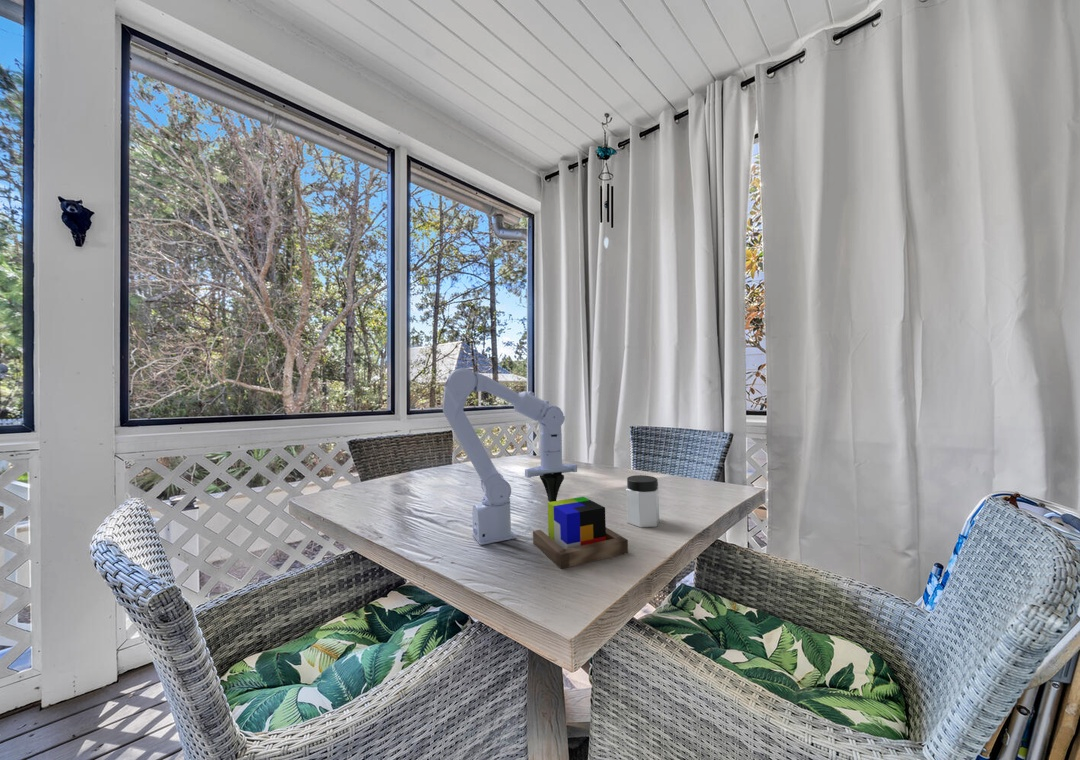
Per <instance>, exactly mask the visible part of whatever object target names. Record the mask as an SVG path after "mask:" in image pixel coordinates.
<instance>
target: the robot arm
mask: <svg viewBox="0 0 1080 760" xmlns="http://www.w3.org/2000/svg"><path fill="white" fill-rule="evenodd" d="M443 391H444V392H443V400H442V401H443V402H442V413H443V414H444V416H445V418H446V420H447V421H448V424H449V425H450V427H451V429H452V430H453V432H454V434H455V435H456V436H455V437H456V438H457V439H458V441H459V443H460V444H461V446H462V448H463V451H464V452H465V453H466V455H467V457H468V459H469V460H470V462H471V464H472V466H473V467H474V470H475V472H476V473H477V475H478V477H479V479H480V486H481V490H482V492H483V493H485V494H484V495H483V496H482V499H481V502H479V503H476V504H474V505H473V506H472V511H471V512H472V533H471V534H472V536H473V538H475V540H476V541H477V543H478V544H479V545H480V546H481V545H482V546H484V545H488V544H492V543H498V542H504V541H507V540H508V541H509V540H514V539H517V537H518V536H517V535H516V534H515V533H514V532H513V531H512V525H511V524H512V523H511V521H512V520H511V518H512V517H511V515H512V514H511V498H510V497H511V495H512V487H511V484H510V483H509V482H508V481H507V480H506V479H505V478H504V476H503V475H502V474H501V473H500V472H499V471H498V470H497V468H496V466H495V465H494V463H493V461H492V459H491V458H490V456H489V454H488V452H487V451H486V448H485V447H484V445H483V443H482V442H481V440H480V438H479V436H478V434H477V433H476V431H475V428H474V427H473V426H472V423H471V422H470V420H469V418H468V416H467V414H466V412H465V411H464V408H465V405H466V403H467V400H468V397H469V396H470V395H471V393H472V392H479V393H480V392H486V393H487V394H488V393H489V394H490V395H493V396H495V397H497V398H500V399H501V400H504V401H506V402H507V403H510V404H512V406H513V410H514V411H515V412H517V413H519V414H521V415H523V416H524V417H527V418H528V419H531V420H533V421H536V422H538V423H539V425H540V433H539V437H540V438H539V443H540V445H539V447H540V449H539V450H540V452H539V453H540V466H539V465H538V466H535V467H531V468H530V467H529V468H525V469H524V476H525V477H526V478H529V479H530V478H532V477H533V478H534V477H538V476H539V479H540V480H541V482H542V484H543V486H544V490H545V493H546V496H547V501H548V502H553V501H557V498H558V494H559V491H560V488H561V485H562V483H563V481H564V480H565V475H564V473H565V474H566V473H578V464H575V463H565V464H563V443H562V442H563V440H562V439H563V437H562V436H563V435H562V426H563V424H564V422H565V420H566V416H565V415H564V412H563V410H562V409H561V408H560V407H558V406H555V405H551V404H550V401H549V400H547V399H545V400H543V399H541V398H539V397H537V396H536V395H535V392H533V391H531V390H530V391H529V390H528V392H527V391H526V390H525V391H521V392H517V391H515V390H513V389H511V388H509V387H507V386H506V385H504V384H502V383H500V382H498V381H496V380H494V379H492V378H491V377H489V376H486V375H484V374H482V373H480V372H479V373H478V372H477V371H472V370H471V369H468V368H464V367H461V368H457V369H455V370H453V371H452V372H450V374H449V375H448V377H447V379H446V381H445V383H444V390H443Z"/></svg>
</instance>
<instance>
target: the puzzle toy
mask: <svg viewBox="0 0 1080 760" xmlns="http://www.w3.org/2000/svg"><path fill="white" fill-rule="evenodd" d="M547 520H548V521H547V524H548V525H547V526H548V528H547V529H548V530H547V531H548V536H549V537H550V538H551V539H553V540H554V541H555V542H556V543H558V544H559V545H560V546H561V547H563V548H564V549H568V548H573V547H577V546H582V545H587V544H591V543H596V542H601V541H605V540H606V528H607V526H606V524H607V523H606V507H605V506H604V505H601V504H600V503H597V502H596V501H593V500H591V499H589V498H587V497H585V496H580V497H573V498H567V499H561V500H556V501H553V502H549V501H548V502H547Z"/></svg>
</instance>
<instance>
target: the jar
mask: <svg viewBox="0 0 1080 760" xmlns="http://www.w3.org/2000/svg"><path fill="white" fill-rule="evenodd" d="M626 479H627V480H626V483H627V485H626V487H627V488H626V489H625V491H626V519H627V520H626V521H627V524H629V525H632V526H635V527H637V528H652V527H657V526H658V525H659V522H660V501H659V500H660V498H659V497H660V496H659V493H660V492H659V481H658V478H657V477H655V476H653V475H646V474H643V475H641V474H640V475H639V474H638V475H637V474H636V475H630V476H628V477H627V478H626Z"/></svg>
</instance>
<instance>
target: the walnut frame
mask: <svg viewBox="0 0 1080 760" xmlns="http://www.w3.org/2000/svg"><path fill="white" fill-rule="evenodd" d="M532 543H533V545H534V546H535V547H537V549H539V550H540V551H541V552H542V553H543V554H544V555H545V556H546V557H547V558H548V559H549V560H551V561H552V563H554V564H555V565H556V566H557V567H558V568H559V569H560V570H562V569H566V568H570V567H575V566H579V565H583V564H587V563H591V562H596V561H601V560H604V559H608V558H613V557H618V556H621V554H622V555H626V554H629V541H628V539H627V538H625V537H624V536H622V535H621V534H618V533H617V532H615V531H613V530H611V529H610V528H608V527H606V540H605V541H601V542H596V543H591V544H587V545H582V546H577V547H573V548H568V549H564V548H563V547H561V546H560V545H559V544H558V543H556V542H555V541H554V540H553V539H551V538H550V537H549V534H548V535H547V533H545V532H544V531H543V530H541V529H537V530H536V529H535V530H533V531H532ZM625 553H626V554H625ZM617 555H618V556H617Z"/></svg>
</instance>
